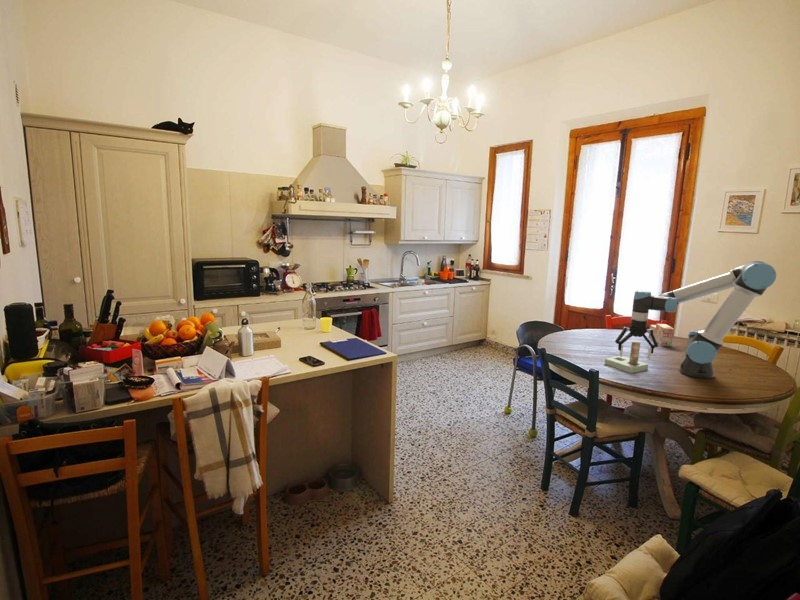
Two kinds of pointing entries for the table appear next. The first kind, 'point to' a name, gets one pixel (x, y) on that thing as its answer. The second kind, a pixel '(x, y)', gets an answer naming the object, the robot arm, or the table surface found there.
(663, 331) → the stack of blocks
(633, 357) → the peg
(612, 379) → the table surface
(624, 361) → the board
